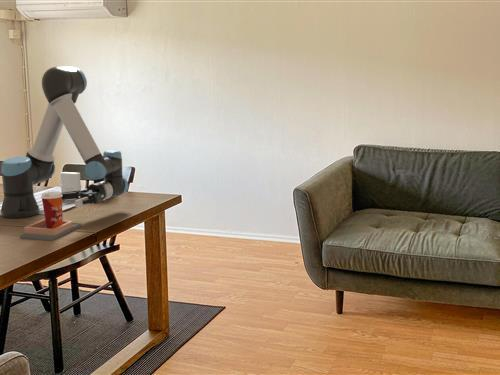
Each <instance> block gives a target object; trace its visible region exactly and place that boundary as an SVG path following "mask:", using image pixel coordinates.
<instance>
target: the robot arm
mask: <svg viewBox="0 0 500 375" xmlns="http://www.w3.org/2000/svg"><path fill="white" fill-rule="evenodd" d="M87 84H88V82H87V77H86V74H85V73H84V72H83V71H82V69H80V68H78V67H75V66H69V65H68V66H54V67H53V66H52V67H49V69H47V70H46V71H45V72H44V73H43V75H42V77H41V88H42V91H43V94H44V96H45V99H46V100H47V102H48V104H47V106H46V110H45V113H44V115H43V118H42V120H41V124H40V126H39V130H38V132H37V135H36V137H35V140H34V144H33V146H32V147H30V148H28V149H27V152H26V154H25V156H15V157H9V158H7V159H4V160H3V161H2V163H1V171H0V172H1V178H2V187H3V200H2V205H1V208H0V216H1V218H5V219H6V218H7V219H23V218H27V217H33V216H36V215H38V214H40V206H39V205H38V202H37V200H36V197H35V194H34V185H35V186H36V185H37V184H41V183H44V182H46V181H48V180H50V179H51V178H52V177H53V176H54V174H55V172H56V164H55V161H56V160H55V156H54V151H55V149H56V146H57V144H58V142H59V138H60V136H61V132H62V131H63V127H64V128H65V130H66V132H67V133H68V135H69V137H70V138H71V140H72V142H73V144H74V146H75V148H76V149H77V152H78V153H79V155H80V157H81V158H82V160H83V162H84V164H85V167H84V173H85V176H86V177H87V179H90V181H91V180H92V181H93V180H98V179H102V178H104V177H105V181H101V182H98V183H94V182H93V183H91V184H89V185H88V186H87V187H86V189H81V190H79V189H78V190H74V191H66V192H61V191H60V192H61V194H62V195H63V196H62V201H66V200H65V199H77V200H74V208H79V207H84V206H86V205H91V204H94V205H97V204H98V203H100V202H101V201H106V200H107V199H111V198H114V197H118V196H122V195H124V194H126V193H127V191H128V190H129V182H128V180H127V178H126V177H123V158H122V152H121V151H120V150H117V149H110V150H105V151H103V152H101V151H100V149H99V147H98V145H97V143H96V142H95V139H94V138H93V136H92V134H91V132H90V131H89V128H88V127H87V124H86V123H85V121H84V119H83V117H82V115H81V114H80V112H79V110H78V108H77V106H76V105H75V104H76V103H77V100H78V98H79V95H81V94H82V93H83V92H85V90H86V88H87V86H88V85H87ZM102 153H103V154H102ZM79 196H80V198H79Z"/></svg>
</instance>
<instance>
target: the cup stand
mask: <svg viewBox="0 0 500 375" xmlns="http://www.w3.org/2000/svg"><path fill="white" fill-rule="evenodd" d="M81 227H82V223H81V222H74V221H73V220H64V219H63V225H61V226H58V227H56V228H54V229H49V228H47V227H46V221H45V218H44V219H41V220H38V221H36V222H34V223H31V224H29V225H26V226H24V227H23V233H21V234H20V235H19V238H20V239H27V240H28V239H29V240H38V239H39V240H40V241H41V240H42V241H51V242H52V241H54V240H57V239H58V238H60V237H62V236H64V235H66V234H69V233H70V232H72V231H75V230H77V229H79V228H81Z"/></svg>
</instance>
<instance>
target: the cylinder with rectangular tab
mask: <svg viewBox="0 0 500 375" xmlns="http://www.w3.org/2000/svg"><path fill="white" fill-rule="evenodd" d="M60 188H61V191H60V192H66V191H74V190H78V189H79V190H82V183H81V172H73V171H72V172H69V171H63V172H62V171H61V172H60ZM79 198H80V196H79ZM64 201H75V200H74V199H65V200H64Z"/></svg>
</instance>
